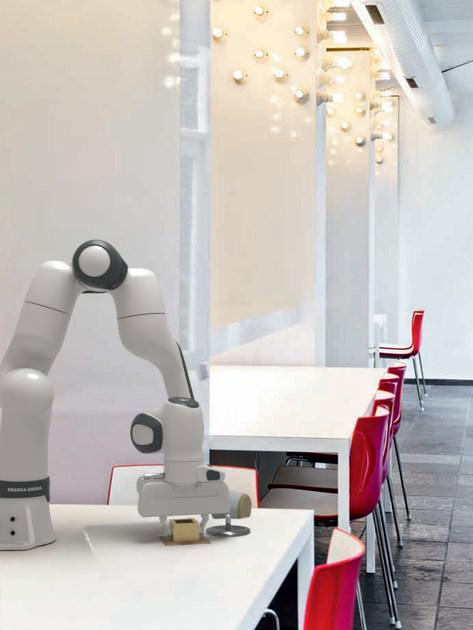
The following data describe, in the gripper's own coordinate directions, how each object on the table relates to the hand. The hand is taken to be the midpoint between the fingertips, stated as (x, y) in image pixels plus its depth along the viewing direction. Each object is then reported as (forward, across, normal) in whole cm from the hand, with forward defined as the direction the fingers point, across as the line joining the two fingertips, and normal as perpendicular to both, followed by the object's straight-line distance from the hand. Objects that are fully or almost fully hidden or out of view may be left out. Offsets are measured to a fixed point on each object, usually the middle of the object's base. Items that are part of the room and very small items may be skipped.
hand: (184, 535), depth 242 cm
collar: (+1, 0, 0) cm, 1 cm away
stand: (+2, 0, 0) cm, 2 cm away
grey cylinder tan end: (+3, +17, +25) cm, 30 cm away
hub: (+2, +11, +5) cm, 12 cm away
